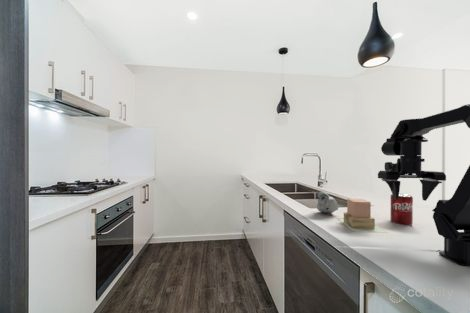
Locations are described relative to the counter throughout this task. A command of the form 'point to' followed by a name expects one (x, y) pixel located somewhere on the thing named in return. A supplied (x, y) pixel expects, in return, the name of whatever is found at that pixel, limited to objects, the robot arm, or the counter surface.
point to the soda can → (402, 210)
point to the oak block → (359, 222)
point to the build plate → (377, 229)
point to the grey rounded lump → (326, 203)
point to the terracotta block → (359, 208)
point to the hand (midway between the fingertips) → (410, 200)
